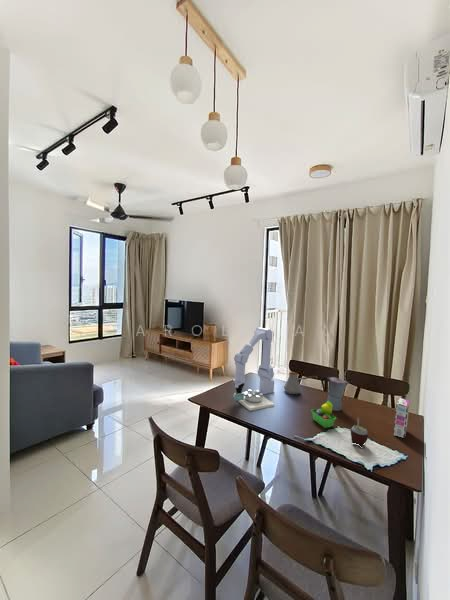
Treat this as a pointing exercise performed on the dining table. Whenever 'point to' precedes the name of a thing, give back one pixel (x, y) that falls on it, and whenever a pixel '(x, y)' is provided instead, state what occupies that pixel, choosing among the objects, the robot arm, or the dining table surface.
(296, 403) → the dining table surface
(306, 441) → the dining table surface
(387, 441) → the dining table surface
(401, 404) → the candy bar box
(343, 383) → the moka pot
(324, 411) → the fruit basket
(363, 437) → the mate gourd
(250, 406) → the base plate
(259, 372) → the robot arm
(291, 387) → the coffee pot
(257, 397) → the teal elongated tool
